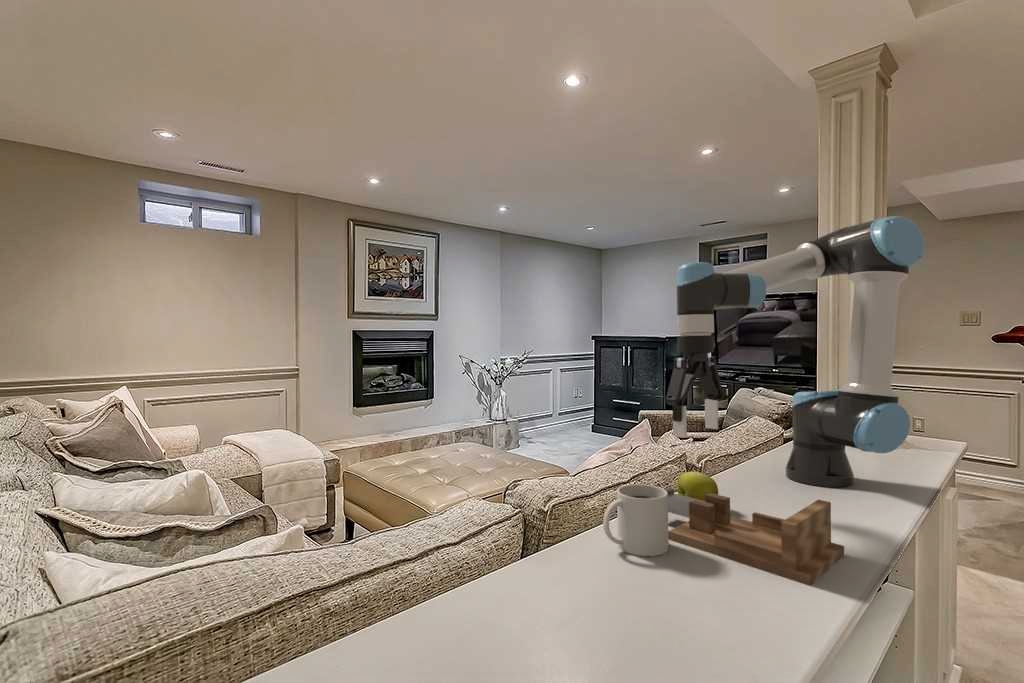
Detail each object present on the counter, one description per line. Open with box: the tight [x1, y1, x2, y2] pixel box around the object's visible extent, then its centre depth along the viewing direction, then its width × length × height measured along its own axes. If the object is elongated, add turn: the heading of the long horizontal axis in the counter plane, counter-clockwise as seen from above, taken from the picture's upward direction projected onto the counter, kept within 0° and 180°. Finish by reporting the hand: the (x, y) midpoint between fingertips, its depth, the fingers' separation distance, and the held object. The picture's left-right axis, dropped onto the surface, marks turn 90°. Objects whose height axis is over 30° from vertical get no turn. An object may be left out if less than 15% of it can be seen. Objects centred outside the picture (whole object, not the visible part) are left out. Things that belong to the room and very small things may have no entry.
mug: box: [602, 483, 670, 557], centre depth 91 cm, size 11×10×10 cm
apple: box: [674, 471, 719, 501], centre depth 111 cm, size 8×9×8 cm
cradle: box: [668, 493, 845, 586], centre depth 91 cm, size 16×24×8 cm, turn 41°
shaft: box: [663, 487, 714, 519], centre depth 100 cm, size 4×10×4 cm, turn 41°
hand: (696, 432), depth 110 cm, fingers open, 13 cm apart
